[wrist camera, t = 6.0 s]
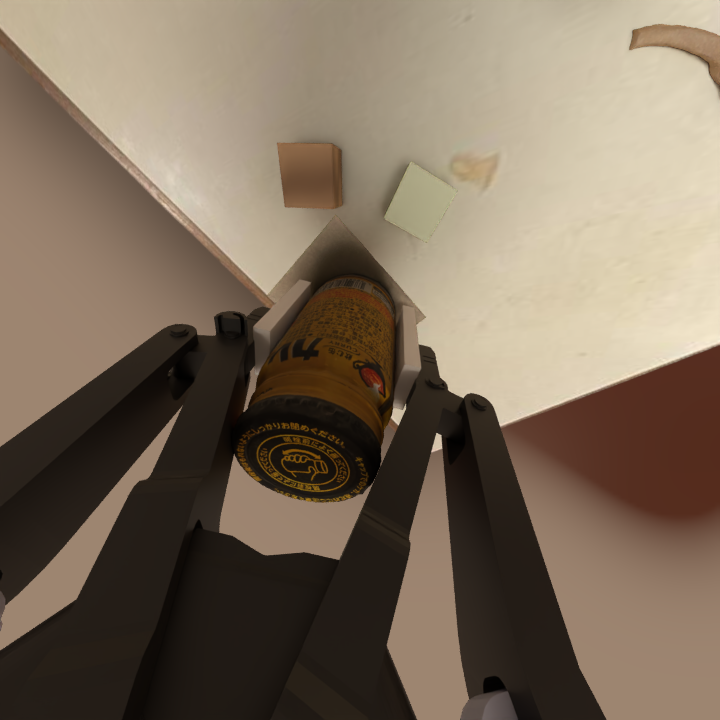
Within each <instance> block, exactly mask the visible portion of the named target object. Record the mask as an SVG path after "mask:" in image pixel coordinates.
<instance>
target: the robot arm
mask: <svg viewBox="0 0 720 720" xmlns="http://www.w3.org/2000/svg"><path fill="white" fill-rule="evenodd" d="M310 290H311V282H308V281H304V280H299V281H298V282H297V283H296V284H295V285H294V286H293V287H292V288H291V289H290V290H289V291H288V292H287V293H286V294H285V295H284V296H283V297H282V298H281V299H280V300H279V301H278V302H277V303H276V304H275V305H274V306H273V307H272V308H271V309H270V308H266V307H260V308H257V309H255V310H254V311H252V312H251V313H250V315H248V316H247V317H246V316H245V315H244V314H242V313H240V312H235V311H227V312H222V313H219V314H217V315H216V316H215V317H214V320H215V326H216V335H215V336H205V335H197V330H196V329H195V328H194V327H193V326H190V325H185V324H175V325H171V326H168V327H166V328H164V329H162V330H161V331H160V332H158V333H157V334H155V335H154V336H153V337H151V338H150V339H148V340H147V341H146V342H144V343H143V344H142V345H140V346H139V347H137V348H136V349H135V350H133V351H132V352H131V353H129V354H128V355H126V356H125V357H124V358H122V359H121V360H120V361H118V362H117V363H115V364H114V365H113V366H111V367H110V368H108V369H107V370H106V371H104V372H103V373H102V374H100V375H99V376H97V377H96V378H95V379H93V380H92V381H91V382H89V383H88V384H86V385H85V386H84V387H82V388H81V389H80V390H78V391H77V392H75V393H74V394H73V395H71V396H70V397H69V398H67V399H66V400H65V401H63V402H62V403H60V404H59V405H57V406H56V407H55V408H53V409H52V410H51V411H49V412H48V413H46V414H45V415H44V416H42V417H41V418H40V419H38V420H37V421H35V422H34V423H33V424H32V425H30V426H29V427H27V428H26V429H24V430H23V431H22V432H20V433H19V434H18V435H16V436H15V437H13V438H12V439H11V440H9V441H8V442H6V443H5V444H4V445H2V446H1V447H0V630H1V627H2V622H1V617H2V614H3V612H4V609H5V605H6V604H8V602H10V601H11V600H12V599H13V598H14V597H15V596H17V595H18V594H19V593H20V592H21V591H22V590H23V589H24V588H25V587H26V586H27V585H28V584H29V583H30V582H31V581H32V580H33V579H34V578H35V577H36V576H37V575H38V574H39V573H40V572H41V571H42V570H43V569H44V568H45V567H46V566H47V565H48V564H49V563H50V561H51V560H52V559H53V558H54V557H55V556H56V555H57V554H58V553H59V552H60V550H61V549H62V548H63V547H64V546H65V545H66V544H67V542H68V541H69V540H70V539H71V538H72V536H73V535H74V534H75V533H76V532H77V530H78V529H79V528H80V527H81V526H82V524H83V523H84V522H85V521H86V520H87V519H88V517H89V516H90V515H91V514H92V512H93V511H94V510H95V509H96V508H97V507H98V506H99V504H100V503H101V502H102V501H103V499H104V498H105V497H106V496H107V495H108V494H109V492H110V491H111V490H112V489H113V488H114V486H115V485H116V484H117V483H118V482H119V480H120V479H121V478H122V477H123V476H124V475H125V473H126V472H127V471H128V470H129V469H130V467H131V466H132V465H133V464H134V463H135V461H136V460H137V459H138V458H139V457H140V456H141V454H142V453H143V452H144V451H145V450H146V448H147V447H148V446H149V445H150V444H151V442H152V441H153V440H154V439H155V438H156V436H157V435H158V434H159V433H160V432H161V430H162V429H163V428H164V427H165V426H166V424H167V423H168V422H169V421H170V420H171V419H172V417H173V416H174V415H175V414H176V412H177V411H178V410H179V409H180V408H181V407H182V405H183V407H182V409H181V411H180V413H179V416H178V418H177V420H176V422H175V424H174V426H173V428H172V430H171V433H170V435H169V437H168V439H167V441H166V443H165V446H164V448H163V450H162V452H161V454H160V457H159V459H158V461H157V463H156V465H155V467H154V469H153V472H152V473H151V475H150V477H149V478H148V479H146V480H142V481H139V482H138V483H137V484H136V485H135V486H134V487H133V489H132V491H131V492H130V494H129V496H128V498H127V500H126V502H125V504H124V506H123V508H122V510H121V512H120V514H119V516H118V518H117V520H116V522H115V524H114V526H113V528H112V530H111V532H110V534H109V536H108V538H107V540H106V542H105V544H104V546H103V548H102V550H101V552H100V554H99V556H98V558H97V560H96V562H95V564H94V566H93V568H92V570H91V572H90V574H89V576H88V578H87V580H86V582H85V584H84V586H83V588H82V590H81V592H80V594H79V596H78V598H77V599H76V600H75V601H73V602H72V603H70V604H69V605H67V606H66V607H64V608H63V609H62V610H60V611H59V612H57V613H56V614H54V615H53V616H51V617H50V618H48V619H47V620H45V621H44V622H42V623H41V624H39V625H38V626H36V627H35V628H33V629H32V630H30V631H29V632H27V633H26V634H24V635H23V636H21V637H20V638H18V639H17V640H15V641H14V642H12V643H11V644H9V645H8V646H6V647H5V648H3V649H2V650H0V720H417V719H416V716H415V714H414V711H413V709H412V706H411V704H410V701H409V699H408V697H407V694H406V692H405V689H404V687H403V684H402V682H401V680H400V677H399V675H398V672H397V670H396V667H395V665H394V663H393V660H392V658H391V655H390V653H389V650H388V648H387V641H388V637H389V633H390V629H391V625H392V621H393V617H394V613H395V609H396V605H397V601H398V597H399V593H400V589H401V585H402V581H403V577H404V573H405V569H406V565H407V561H408V556H409V552H410V541H409V534H410V530H411V526H412V523H413V519H414V515H415V511H416V507H417V503H418V500H419V496H420V492H421V489H422V485H423V481H424V477H425V473H426V470H427V466H428V462H429V458H430V454H431V451H432V447H433V443H434V439H435V436H436V433H438V434H440V435H442V449H443V461H444V472H445V484H446V496H447V507H448V520H449V532H450V543H451V555H452V567H453V579H454V592H455V603H456V615H457V627H458V637H459V645H460V654H461V661H462V667H463V672H464V677H465V682H466V687H467V692H468V696H469V700H468V702H467V703H466V705H465V706H464V708H463V711H462V715H461V719H460V720H606V718H605V716H604V714H603V712H602V710H601V708H600V706H599V704H598V703H597V701H596V699H595V697H594V695H593V693H592V691H591V689H590V687H589V685H588V684H587V682H586V680H585V678H584V676H583V674H582V672H581V670H580V669H579V665H578V662H577V659H576V656H575V654H574V650H573V647H572V645H571V641H570V638H569V635H568V632H567V629H566V626H565V623H564V620H563V617H562V614H561V611H560V608H559V605H558V602H557V599H556V596H555V593H554V589H553V587H552V584H551V580H550V577H549V575H548V571H547V568H546V565H545V562H544V559H543V556H542V553H541V550H540V547H539V544H538V541H537V538H536V535H535V532H534V529H533V526H532V523H531V520H530V516H529V514H528V510H527V507H526V505H525V502H524V498H523V496H522V492H521V489H520V486H519V483H518V480H517V477H516V474H515V471H514V468H513V465H512V462H511V459H510V456H509V453H508V450H507V447H506V444H505V440H504V438H503V434H502V432H501V428H500V425H499V422H498V419H497V416H496V413H495V410H494V407H493V406H492V404H491V403H490V402H489V401H488V400H487V399H486V398H484V397H482V396H480V395H477V394H473V393H470V394H467V395H466V396H465V397H464V398H461V397H459V396H457V395H455V394H453V393H451V392H450V391H448V386H447V384H446V382H445V381H444V380H442V379H441V378H440V376H439V371H438V366H437V361H436V356H435V353H434V351H433V350H432V349H431V348H430V347H427V346H423V345H419V344H418V336H417V327H416V318H415V310H414V308H413V307H409V306H405V305H403V306H402V309H401V312H400V315H399V318H398V322H397V325H396V332H395V333H396V341H395V371H394V387H395V391H394V402H393V408H397V409H401V410H403V408H404V406H405V404H406V410H405V413H404V415H403V417H402V419H401V422H400V424H399V426H398V428H397V431H396V433H395V435H394V438H393V440H392V442H391V444H390V447H389V449H388V451H387V453H386V456H385V458H384V460H383V463H382V465H381V467H380V469H379V471H378V474H377V476H376V478H375V480H374V483H373V485H372V487H371V490H370V492H369V494H368V496H367V499H366V501H365V503H364V506H363V508H362V510H361V512H360V514H359V517H358V519H357V521H356V523H355V526H354V528H353V530H352V533H351V535H350V537H349V539H348V542H347V544H346V546H345V548H344V551H343V553H342V555H341V557H340V560H336V559H332V558H327V557H323V556H319V555H314V554H310V553H305V552H303V553H292V554H281V555H269V556H267V555H262V554H261V553H259V552H257V551H255V550H254V549H253V548H251V547H249V546H248V545H246V544H244V543H243V542H241V541H240V540H238V539H236V538H235V537H233V536H230V535H226V534H222V533H219V525H220V516H221V511H222V506H223V502H224V497H225V493H226V488H227V484H228V479H229V474H230V470H231V465H232V461H233V456H234V452H233V446H232V434H233V429H234V427H235V424H236V423H237V419H238V418H239V416H240V415H241V414H242V413H243V410H244V406H245V401H246V396H247V392H248V387H249V382H250V371H251V370H252V368H253V367H254V366H255V374H256V375H259V372H260V370H261V368H262V366H263V365H264V363H265V362H266V360H267V357H268V356H269V355H270V354H271V353H272V352H273V350H274V349H275V347H276V345H277V344H278V342H279V341H280V340H281V339H282V338H283V336H284V335H285V334H286V332H287V331H288V330H289V328H290V327H291V325H292V323H293V322H294V321H295V320H296V318H297V317H298V315H299V313H300V311H301V310H303V309H304V307H305V305H306V304H307V303H308V302H309V300H310Z"/></svg>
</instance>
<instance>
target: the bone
mask: <svg viewBox="0 0 720 720" xmlns="http://www.w3.org/2000/svg"><path fill="white" fill-rule="evenodd" d="M643 46H672V47H674V48H679V49H683V50H686V51H688V52H690V53H692V54H696V55H698V56H700V57H701V58H703V59H704V60H705V61H707V62H709V66H710V68H709V72H710V75H711V76H712V77H713V80H714V81H715V82H717V83H718V85H720V36H718V35H717V34H714V33H711V32H708V31H706V30H702V29H698V28H691V27H686V26H681V25H675V26H671V25H664V24H658V25H652V26H646V27H643V28H640V29H636V30H633V37H632V42H631V45H630V50H632V49H634V48H638V47H643Z"/></svg>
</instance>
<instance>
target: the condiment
mask: <svg viewBox="0 0 720 720" xmlns="http://www.w3.org/2000/svg"><path fill="white" fill-rule="evenodd" d="M299 280H304V281H308V282H311V290H310V300H309V302H308V303H307V304H306V305H305V307H304V309H303V310H301V311H300V313H299V315H298V317H297V318H296V320H295V321H294V322H293V323H292V325H291V327H290V328H289V330H288V331H287V332H286V334H285V335H284V336H283V338H282V339H281V340H280V341H279V342H278V344H277V345H276V347H275V349H274V350H273V352H272V353H271V354H270V355H269V356H268V357H267V360H266V362H265V363H264V365H263V366H262V368H261V370H260V372H259V375H258V378H257V383H256V391H255V392H254V393H253V395H252V397H251V399H250V402H249V405H248V409H247V410H246V411H245V412H243V413H242V414H241V415H240V416H239V418H238V419H237V423H236V424H235V427H234V429H233V434H232V446H233V452H234V454H235V456H236V458H237V461H238V462H239V464H240V466H242V467H243V469H244V470H245V471H246V472H247V473H248V474H249V475H250V476H251V477H252V478H253V479H255V480H256V481H257V482H259V483H260V484H262V485H264V486H265V487H267V488H269V489H271V490H273V491H276V492H277V493H281V494H283V495H285V496H288V497H291V498H294V499H299V500H306V501H310V502H311V501H313V502H322V503H324V502H336V501H337V502H339V501H344V500H346V499H349V498H353V497H355V496H356V495H358V494H363V493H364V491H365V490H366V489H367V488H368V487H369V486H370V485H371V484H372V483H373V481H374V479H375V478H376V475H377V473H378V470H379V468H380V463H381V445H382V443H383V438H384V429H385V428H386V426H387V425H388V422H389V420H390V418H391V416H392V411H393V402H394V391H395V387H394V371H395V341H396V333H395V332H396V325H397V322H398V318H399V315H400V312H401V309H402V306H403V305H405V306H409V307H413V308H414V310H415V318H416V324H418V323H419V322H421V321H422V320H423V319H424V318H426V317H425V316H424V314H423V313H422V312H421V311H420V310H419V309H418V307H417V306H416V305H415V304H414V303H413V302H412V300H411V299H410V298H409V297H408V296H407V295H406V294H405V293H404V291H403V290H402V289H401V288H400V287H399V285H398V284H397V283H396V282H395V281H394V280H393V279H392V277H391V276H390V275H389V274H388V273H387V272H386V271H385V270H384V268H383V267H382V266H381V265H380V264H379V263H378V262H377V261H376V260H375V259H374V258H373V256H372V255H371V254H370V253H369V252H368V250H367V249H366V248H365V247H364V246H363V245H362V243H361V242H360V241H359V240H358V239H357V238H356V237H355V236H354V235H353V234H352V233H351V232H350V230H349V229H348V228H347V227H346V226H345V225H344V223H343V222H342V221H341V220H340V219H339V218H338V217H337V215H335V216H334V217H333V219H332V220H331V221H330V222H329V223H328V225H327V226H326V227H325V228H324V229H323V231H322V232H321V233H320V234H319V235H318V236H317V238H316V239H315V240H314V241H313V242H312V244H311V245H310V246H309V247H308V248H307V249H306V251H305V252H304V253H303V254H302V255H301V256H300V258H299V259H298V260H297V261H296V262H295V264H294V265H293V266H292V267H291V268H290V269H289V271H288V272H287V273H286V274H285V275H284V276H283V278H282V279H281V280H280V281H279V282H278V284H277V285H276V286H275V287H274V288H273V289H272V290H271V292H270V293H269V294H268V295H267V296H268V297H269V298H270V299H271V300H272V301H273V302H274V303H275V304H276V303H277V302H278V301H279V300H280V299H281V298H282V297H283V296H284V295H285V294H286V293H287V292H288V291H289V290H290V289H291V288H292V287H293V286H294V285H295V284H296V283H297V282H298V281H299Z"/></svg>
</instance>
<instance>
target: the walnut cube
mask: <svg viewBox="0 0 720 720" xmlns="http://www.w3.org/2000/svg"><path fill="white" fill-rule="evenodd" d="M277 146H278V154H279V162H280V171H281V179H282V187H283V195H284V204H285V207H295V208H325V209H335V208H337V207H340V206H342V162H341V149H339V148H338V147H336V146H335V145H333V144H324V143H277Z"/></svg>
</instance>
